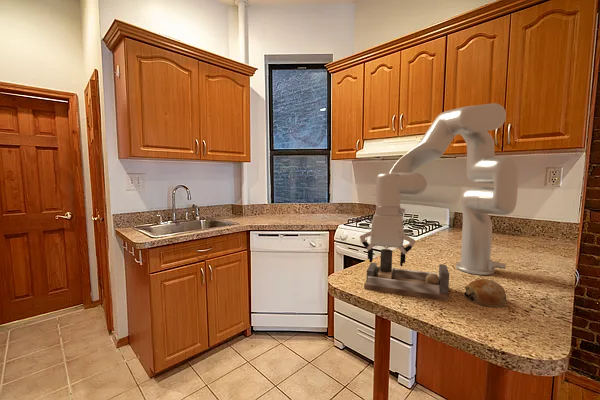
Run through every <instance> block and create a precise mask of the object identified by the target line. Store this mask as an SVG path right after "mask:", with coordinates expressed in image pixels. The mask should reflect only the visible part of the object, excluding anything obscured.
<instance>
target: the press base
mask: <svg viewBox="0 0 600 400" xmlns="http://www.w3.org/2000/svg"><path fill="white" fill-rule="evenodd" d="M394 268H395V267H394ZM379 270H380V266H379V265H378V262H373V261H372V262H371V263H370V262H369V265H368V267H367V269H366V279H365V282H364V285H363V289H365V290H370V291H372V290H373V291H378V292H384V293H385V292H386V293H391V294H398V295H403V296H404V295H405V296H411V297H418V298H423V299H424V298H425V299H432V300H437V301H444V302H449V301H450V298H449V297H450V296H449V290H450V289H449V288H450V273H449V270H448V266H447V265H446V264H438V273H436V272H429V271H422V270H420V271H419V270H414V269H413V270H411V269H405V268H404V269H403V268H395V277H394V279H387V278H380V277H378V273H379Z"/></svg>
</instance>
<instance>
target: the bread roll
mask: <svg viewBox="0 0 600 400" xmlns="http://www.w3.org/2000/svg"><path fill="white" fill-rule="evenodd" d="M464 288H465V292H463V294H464V297H466V298H467V299H468V300H469V301H471V302H473V303H475V304H477V305H481V306H484V307H490V308H503V307H505V308H506V307H507V306H508V304H507V303H506V302H507V294H506V290H505V288H504V287H503V286H502V285H501V284H500V283H498V282H496V281H495V280H493V279H487V278H480V279H475V280H473V281H471V282H470V283H469V284H468V285H465V286H464Z"/></svg>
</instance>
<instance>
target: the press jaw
mask: <svg viewBox="0 0 600 400" xmlns="http://www.w3.org/2000/svg"><path fill="white" fill-rule="evenodd" d="M378 277H380V278H387V279H394V277H395V267H394V266H393V250H392V249H388V248H382V249H380V270H379V273H378Z"/></svg>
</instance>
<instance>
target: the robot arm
mask: <svg viewBox="0 0 600 400" xmlns="http://www.w3.org/2000/svg"><path fill="white" fill-rule="evenodd" d="M506 118H507V111H506V109H505V108H504V107H503V106H502V105H501V104H499V103H494V102H493V103H485V104H477V105H476V104H475V105H468V106H467V105H466V106H461V107H457V108H454V109H449V110H445V111H443V112H441V113H439V114H438V115H437V116H436V118H435V119H434V120H433V121H432V123H431V125H430V126H429V128H428V129H427V130H426V132H425V133H424V135H423V136H422V138H421V140H420V141H419V142H418V143H417V145H415V146H414V147H412V148H411V149H409V151H407V152H406V153H405V154H403V156H401V157H400V158H399V159H398V160H397V161H396V162H395V163H394V165H393V166H392V168H391V169H390V170H389V172H381V173H378V174H377V176H376V189H375V190H376V191H375V214H372V215H373V217H372V220H371V226H370V231H367V232H366V233H364V234H361V235H360V236H359V239H360V241H361V243H362V245H363V246H364V248H365V249H366V251H367V260H369V261H368V262H369V264H370V263H371V262H372V263H373V260H374V249H373V247H375V246H376V247H385V248H398V249H399V251H400V260H399V262H400V263H399V265H400V267H403V265H404V264H406V254H407V253H408V252H409V251H411V250H412V248H413V247H414V245H415V244H416V240H415V239H414V238H412V237H411V236H409V235H407V234H405V233H404V231H405V230H404V227H405V226H404V220H403V219H404V218H403V215H401V214H405V213H406V208H402V207H401V196H409V197H410V196H411V197H412V196H413V197H416V196H420V195H421V194H423V193H424V192H425V190H426V189H427V186H428V185H427V184H428V182H427V178H426V177H425V176H424V175H422V174H421V173H418V172H415V171H417V170H418V169H419V168H422V167H423V166H426V165H428V164H430V163H433V162H435V161H437V160H439V159H440V158H442V156H444V153H445V152H446V150H447V148H449V146H450V144H451V142H452V141H454V139H455V137H456V136H459V135H460V136H461V137H462V138H463V140H464V142H465V144H466V177H467V179H468V181H470V182H472V183H476V184H477V183H478V184H493V186H492V187H490V186H470V187H468V188H465V189H464V191H462V193H461V195H460V206H461V211H462V229H461V230H462V231H461V250H460V251H461V252H460V261H458V262H456V263H455V267H456V269H457V270H459V271H462V272H464V273H468V274H472V275H477V276H478V275H480V276H488V275H493V274H495V272H496V271H495V270H496V269H503V270H505V269H506V267H507V266H506V263H504V262H500V261H493V260H492V259H491V256H492V255H491V253H492V241H493V240H492V239H493V236H492V235H493V222H492V219H491V218H490V215H495V216H509V215H510V214H512V213H514V211H515V209H516V207H517V203H518V187H519V167H518V166H519V165H518V164H517V161H516V160H515V159H514V158H513V157H511V156H506V155H497V156H496V155H495V141H494V140H495V139H494V138H493V136H492V135H491V133H490V132H488V131H494V130H497V129H499V128H501V127H502V126H503V125H504V124H505V121H506ZM369 237H370V242H368V241H367V240H366V239H367V238H369ZM404 240H405V241H407V242H408V245H407V246H404Z"/></svg>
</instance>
